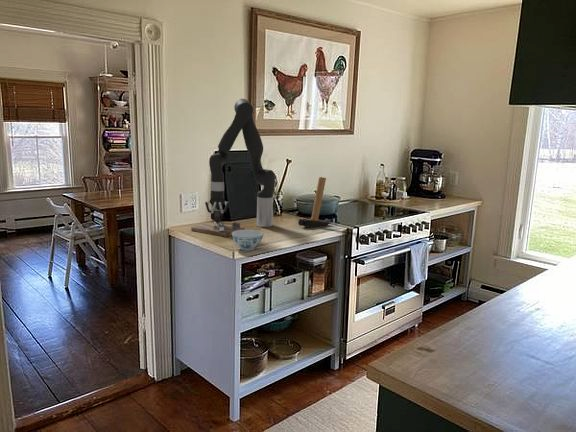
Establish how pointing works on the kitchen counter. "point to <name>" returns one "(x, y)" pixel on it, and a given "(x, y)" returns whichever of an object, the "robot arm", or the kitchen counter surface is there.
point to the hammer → (316, 208)
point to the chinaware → (247, 238)
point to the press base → (212, 229)
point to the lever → (218, 220)
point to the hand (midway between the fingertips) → (216, 219)
